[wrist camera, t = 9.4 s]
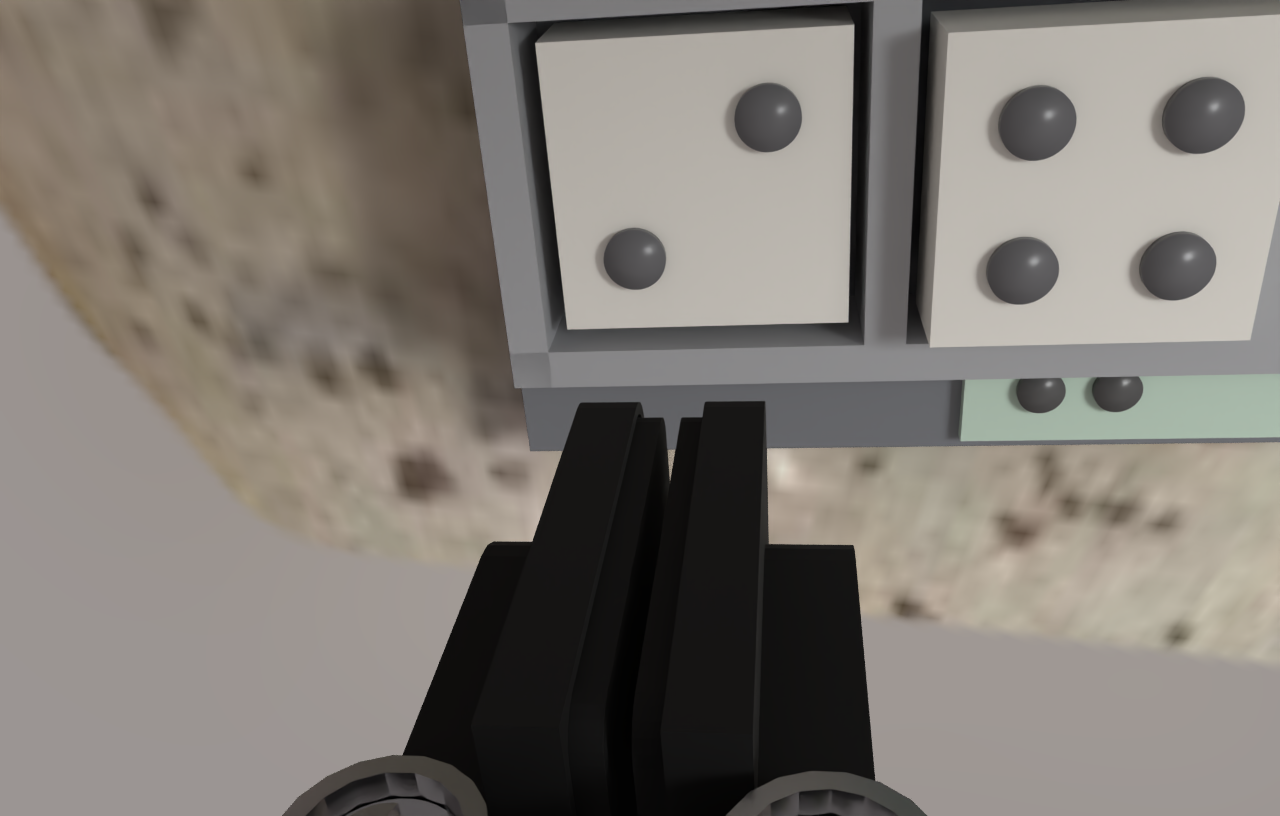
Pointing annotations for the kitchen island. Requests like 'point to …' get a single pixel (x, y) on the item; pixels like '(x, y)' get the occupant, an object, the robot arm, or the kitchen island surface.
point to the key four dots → (1099, 172)
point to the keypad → (878, 288)
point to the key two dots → (701, 167)
